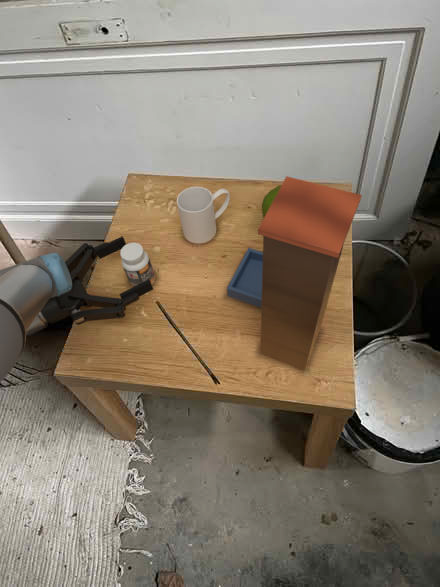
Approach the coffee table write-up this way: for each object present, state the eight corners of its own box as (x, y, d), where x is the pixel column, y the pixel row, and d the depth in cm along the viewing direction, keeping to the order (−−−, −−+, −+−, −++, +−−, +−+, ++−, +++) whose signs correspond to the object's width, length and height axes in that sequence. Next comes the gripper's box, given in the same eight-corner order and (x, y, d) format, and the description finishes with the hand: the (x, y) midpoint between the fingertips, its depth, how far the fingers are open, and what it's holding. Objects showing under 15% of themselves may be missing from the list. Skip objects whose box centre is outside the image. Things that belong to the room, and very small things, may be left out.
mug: (191, 249, 96) (185, 217, 87) (178, 227, 100) (171, 194, 91) (238, 229, 98) (236, 196, 90) (223, 208, 102) (220, 174, 94)
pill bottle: (151, 291, 90) (141, 263, 82) (126, 288, 91) (113, 261, 83) (158, 270, 93) (148, 241, 85) (133, 268, 94) (122, 239, 86)
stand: (306, 374, 78) (339, 252, 48) (256, 354, 80) (257, 228, 50) (322, 330, 82) (361, 194, 52) (275, 313, 85) (286, 176, 55)
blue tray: (279, 314, 85) (279, 306, 83) (227, 296, 88) (226, 288, 86) (297, 271, 91) (299, 263, 88) (248, 256, 94) (248, 247, 91)
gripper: (31, 277, 92) (119, 236, 97) (67, 366, 79) (166, 314, 84) (15, 255, 86) (110, 213, 91) (52, 349, 73) (159, 293, 78)
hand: (137, 261), depth 87 cm, fingers open, 13 cm apart
